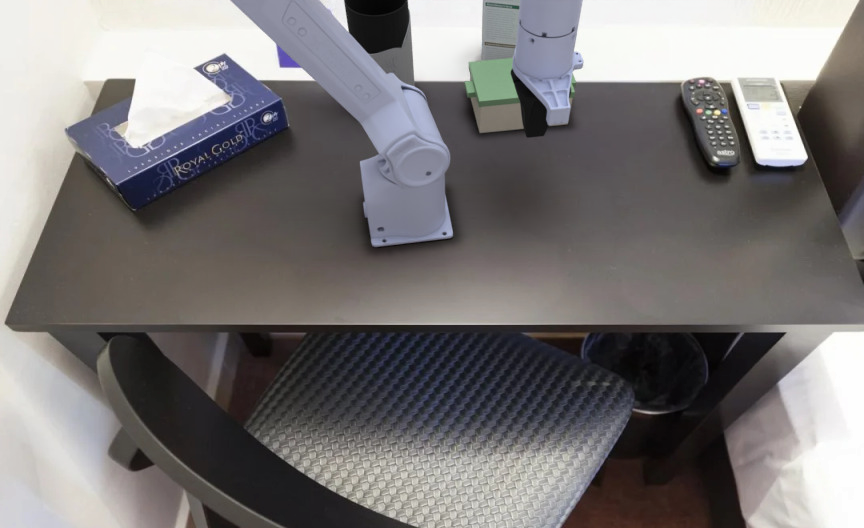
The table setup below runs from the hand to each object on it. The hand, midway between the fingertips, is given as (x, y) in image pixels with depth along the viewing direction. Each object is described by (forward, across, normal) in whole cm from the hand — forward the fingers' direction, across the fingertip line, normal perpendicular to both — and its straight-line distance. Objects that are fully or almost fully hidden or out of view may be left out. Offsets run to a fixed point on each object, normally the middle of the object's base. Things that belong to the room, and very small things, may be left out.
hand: (534, 132), depth 74 cm
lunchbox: (+7, +15, -2) cm, 17 cm away
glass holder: (+10, +19, +18) cm, 28 cm away
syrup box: (+10, +25, -2) cm, 27 cm away
